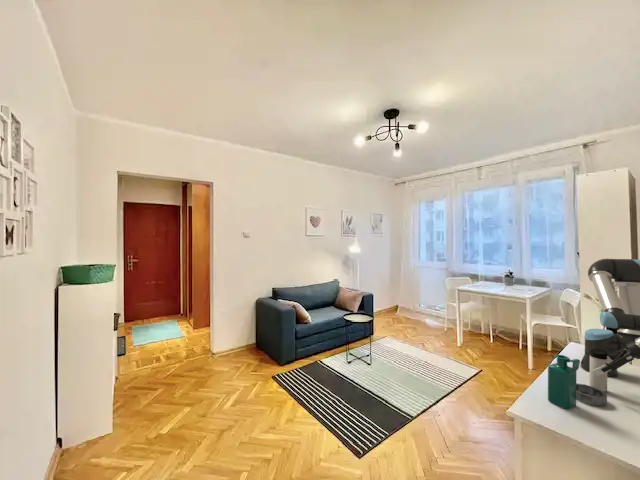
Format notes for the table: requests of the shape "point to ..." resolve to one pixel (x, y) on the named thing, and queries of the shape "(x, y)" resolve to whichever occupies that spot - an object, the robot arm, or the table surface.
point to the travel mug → (596, 361)
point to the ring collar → (596, 397)
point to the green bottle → (562, 382)
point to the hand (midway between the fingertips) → (596, 368)
